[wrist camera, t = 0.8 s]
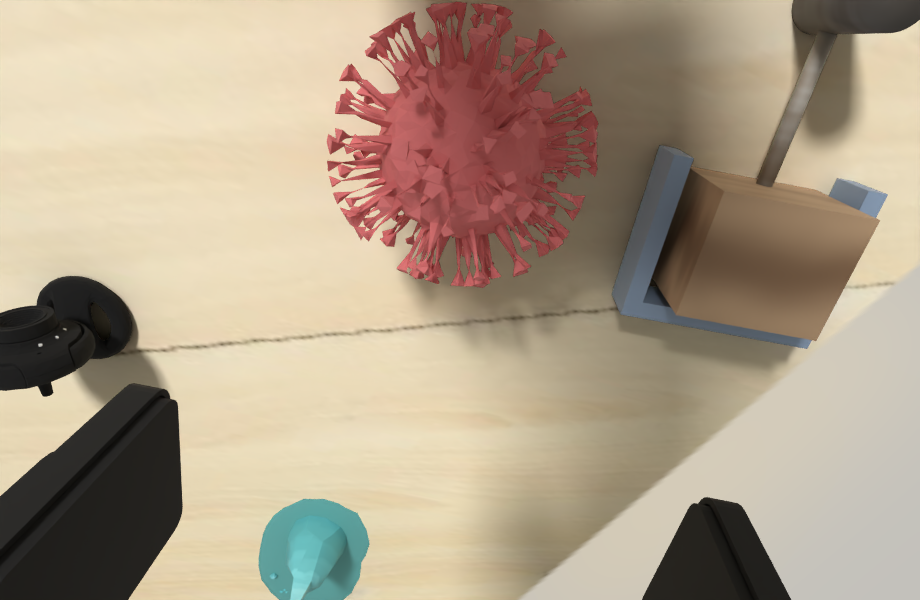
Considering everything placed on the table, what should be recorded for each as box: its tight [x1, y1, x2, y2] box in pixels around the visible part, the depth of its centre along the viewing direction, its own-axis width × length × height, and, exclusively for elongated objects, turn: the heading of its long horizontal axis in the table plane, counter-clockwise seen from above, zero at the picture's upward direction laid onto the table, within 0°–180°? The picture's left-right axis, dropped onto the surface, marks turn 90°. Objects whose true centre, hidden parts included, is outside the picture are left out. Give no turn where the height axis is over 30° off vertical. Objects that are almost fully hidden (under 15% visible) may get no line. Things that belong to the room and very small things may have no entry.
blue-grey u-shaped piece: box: [612, 145, 888, 349], centre depth 37 cm, size 11×13×4 cm
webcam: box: [0, 276, 132, 396], centre depth 41 cm, size 8×8×10 cm
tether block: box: [652, 0, 920, 341], centre depth 33 cm, size 20×9×7 cm, turn 170°
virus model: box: [327, 2, 598, 288], centre depth 30 cm, size 15×15×15 cm
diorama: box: [259, 499, 369, 600], centre depth 53 cm, size 12×20×9 cm, turn 160°
